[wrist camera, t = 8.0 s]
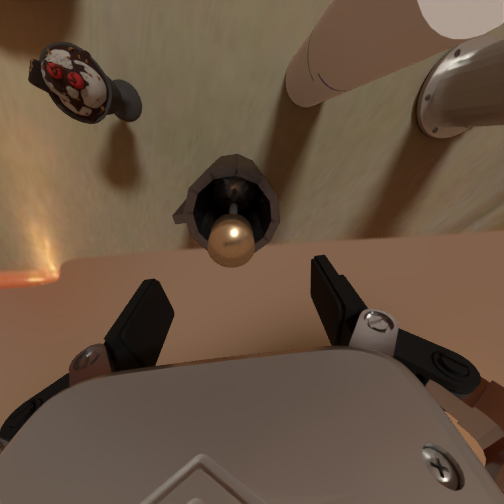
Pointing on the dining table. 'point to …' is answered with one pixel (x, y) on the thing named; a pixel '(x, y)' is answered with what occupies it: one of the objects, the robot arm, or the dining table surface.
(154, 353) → the robot arm
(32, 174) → the dining table surface
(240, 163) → the press carafe
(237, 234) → the plunger
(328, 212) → the dining table surface
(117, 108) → the sundae
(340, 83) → the cylindrical container
